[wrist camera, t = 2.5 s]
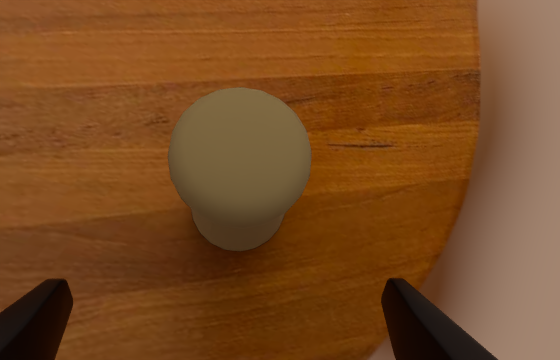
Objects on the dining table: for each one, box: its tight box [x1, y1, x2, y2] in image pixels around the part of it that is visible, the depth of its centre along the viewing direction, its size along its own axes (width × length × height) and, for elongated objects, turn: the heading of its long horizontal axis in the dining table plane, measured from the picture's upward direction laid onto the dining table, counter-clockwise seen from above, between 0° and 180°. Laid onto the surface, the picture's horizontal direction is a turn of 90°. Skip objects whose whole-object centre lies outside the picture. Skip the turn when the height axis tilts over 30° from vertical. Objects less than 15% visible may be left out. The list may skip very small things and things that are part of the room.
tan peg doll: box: [168, 87, 311, 251], centre depth 16 cm, size 6×6×11 cm
